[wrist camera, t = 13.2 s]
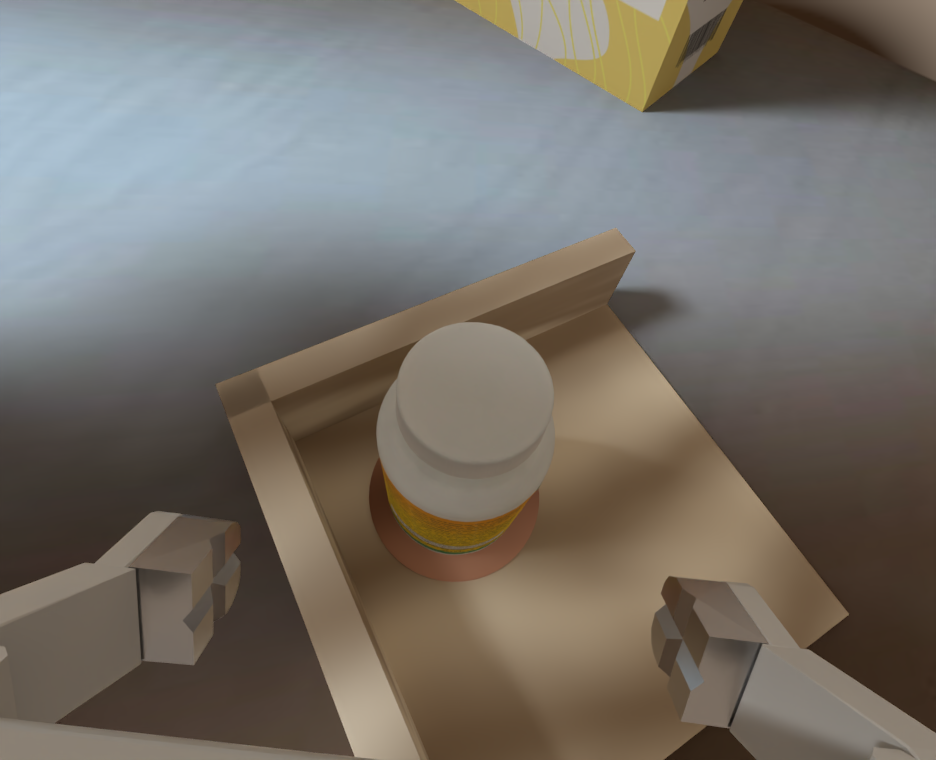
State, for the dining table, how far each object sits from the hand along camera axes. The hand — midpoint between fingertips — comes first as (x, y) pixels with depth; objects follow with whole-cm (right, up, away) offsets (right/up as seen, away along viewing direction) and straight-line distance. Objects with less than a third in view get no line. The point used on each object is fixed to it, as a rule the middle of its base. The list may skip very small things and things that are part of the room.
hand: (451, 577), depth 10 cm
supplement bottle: (0, -1, +12) cm, 12 cm away
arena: (+3, -2, +12) cm, 12 cm away
